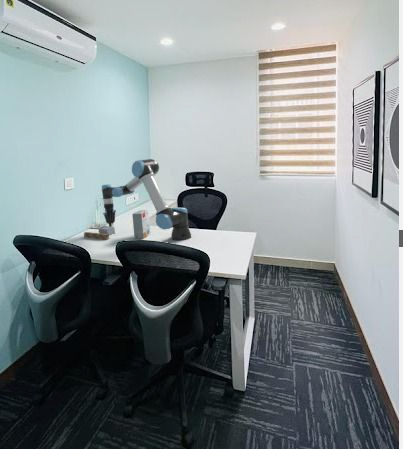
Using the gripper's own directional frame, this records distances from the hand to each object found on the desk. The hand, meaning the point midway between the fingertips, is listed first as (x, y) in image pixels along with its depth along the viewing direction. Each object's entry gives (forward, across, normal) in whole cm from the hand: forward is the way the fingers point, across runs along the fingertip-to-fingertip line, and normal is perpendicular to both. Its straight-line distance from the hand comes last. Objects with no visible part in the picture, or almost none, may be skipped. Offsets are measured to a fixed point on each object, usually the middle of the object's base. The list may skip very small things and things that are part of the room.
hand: (111, 230), depth 281 cm
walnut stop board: (+2, +18, 0) cm, 18 cm away
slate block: (+2, +6, 0) cm, 6 cm away
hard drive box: (+2, +3, +34) cm, 34 cm away
